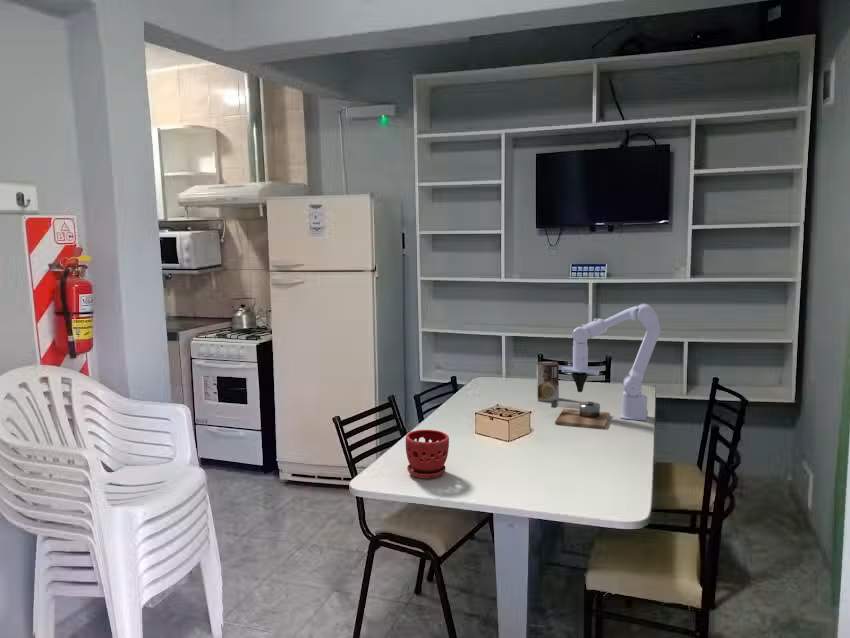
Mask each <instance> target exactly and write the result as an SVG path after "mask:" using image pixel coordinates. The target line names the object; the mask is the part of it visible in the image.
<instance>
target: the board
mask: <svg viewBox="0 0 850 638" xmlns="http://www.w3.org/2000/svg"><path fill="white" fill-rule="evenodd" d="M610 415H611V413H610V412H608V411H607V412H605V411H600V416H598V417H584V416H581V415H580V409H573V408H563V409H562V410H561V412H560V413H559V415H558V416H557V418H556V419H555V420H554V422H555V423H554V425H558V426H569V427H579V428H591V429H597V430H599V429H600V430H605V428H606V427H607V423H608V422H609V419H610Z"/></svg>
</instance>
